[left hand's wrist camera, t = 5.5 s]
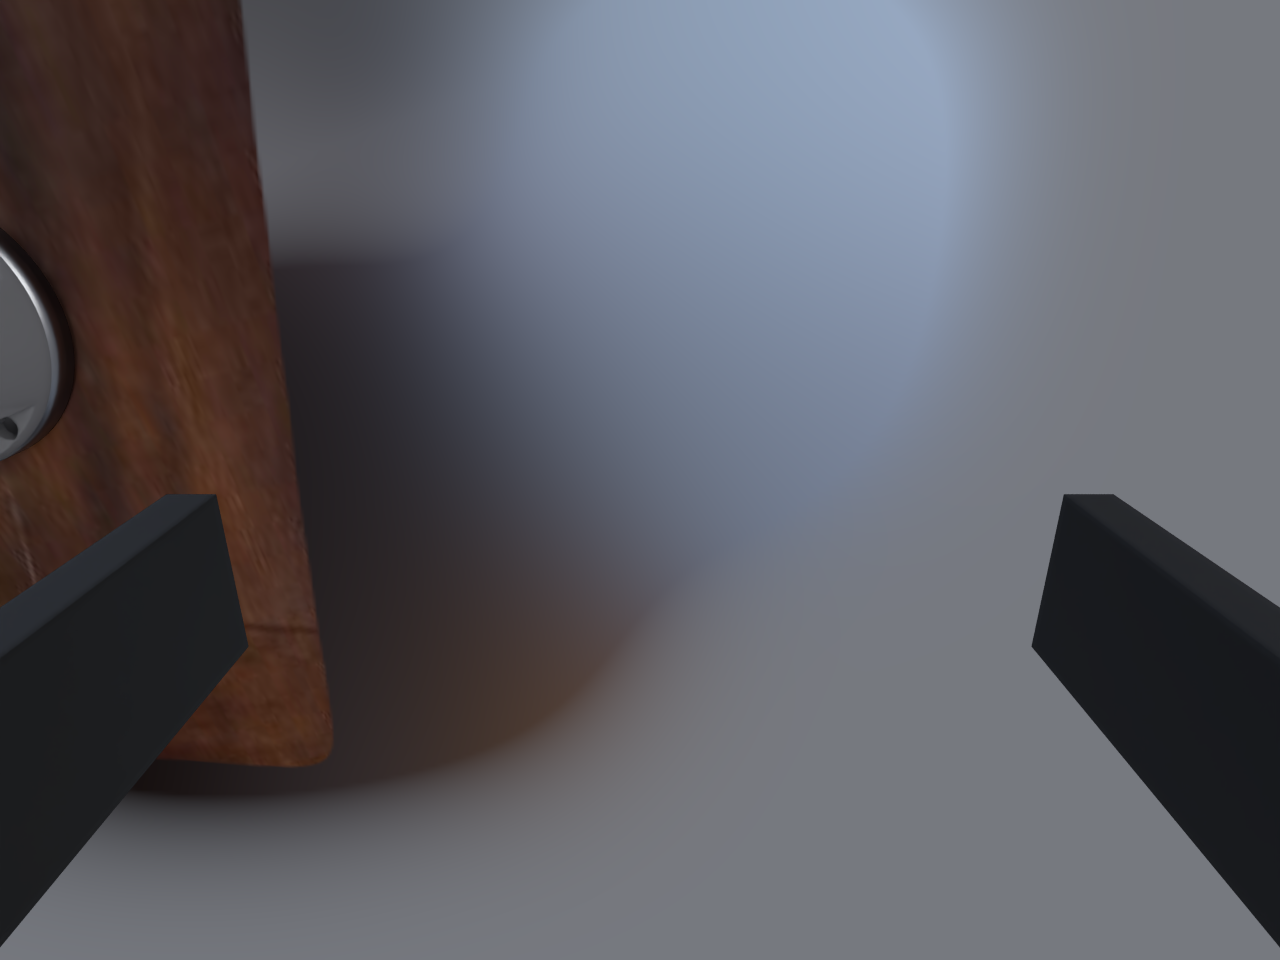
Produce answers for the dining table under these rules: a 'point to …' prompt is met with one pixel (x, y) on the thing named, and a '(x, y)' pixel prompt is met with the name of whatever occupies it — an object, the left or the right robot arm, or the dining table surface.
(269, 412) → the dining table surface
